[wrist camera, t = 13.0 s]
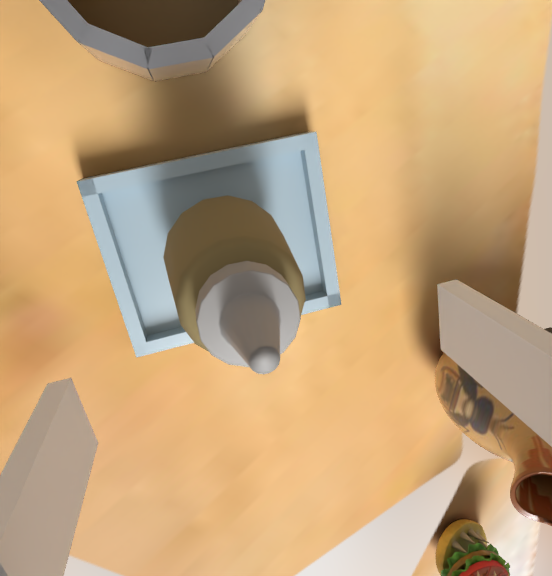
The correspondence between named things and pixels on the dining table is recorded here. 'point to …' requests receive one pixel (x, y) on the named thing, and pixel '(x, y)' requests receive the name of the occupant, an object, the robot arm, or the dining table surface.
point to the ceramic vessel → (499, 437)
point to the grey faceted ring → (159, 58)
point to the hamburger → (468, 552)
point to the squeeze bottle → (234, 282)
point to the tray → (186, 193)
